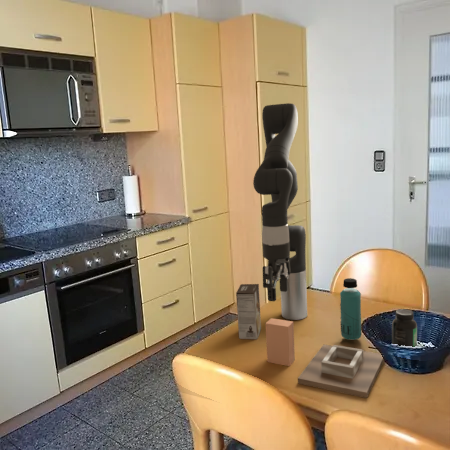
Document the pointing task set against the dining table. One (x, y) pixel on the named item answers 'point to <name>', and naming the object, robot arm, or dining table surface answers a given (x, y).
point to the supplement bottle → (404, 328)
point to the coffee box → (248, 311)
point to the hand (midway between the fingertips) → (278, 295)
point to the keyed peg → (280, 341)
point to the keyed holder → (342, 370)
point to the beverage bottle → (350, 310)
